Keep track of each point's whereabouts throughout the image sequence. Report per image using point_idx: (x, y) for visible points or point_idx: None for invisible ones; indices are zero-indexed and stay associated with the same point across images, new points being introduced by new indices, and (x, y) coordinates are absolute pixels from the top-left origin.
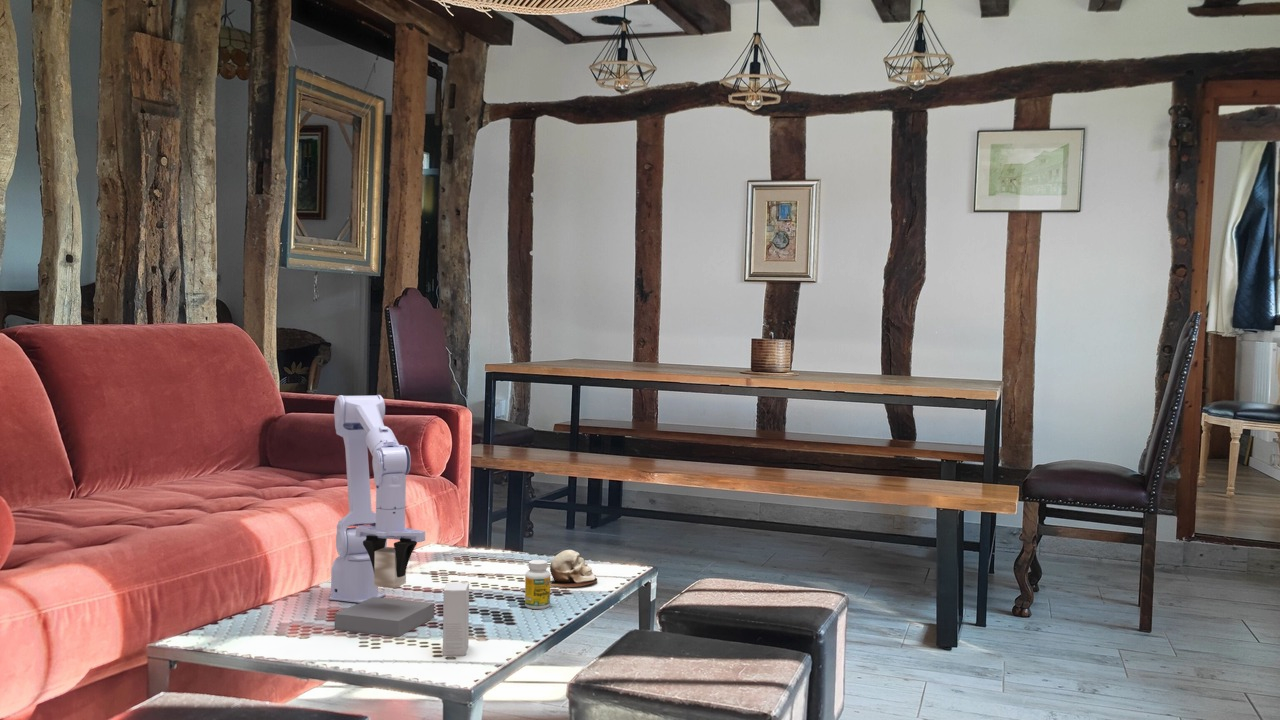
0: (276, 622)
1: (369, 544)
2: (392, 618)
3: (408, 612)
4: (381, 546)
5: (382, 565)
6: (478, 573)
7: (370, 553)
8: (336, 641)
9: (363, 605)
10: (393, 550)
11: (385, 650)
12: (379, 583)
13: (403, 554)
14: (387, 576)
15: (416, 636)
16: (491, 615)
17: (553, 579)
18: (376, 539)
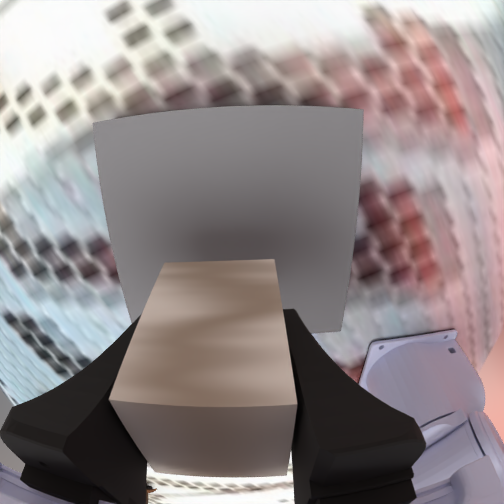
0: (499, 134)
1: (350, 436)
2: (128, 138)
3: (128, 225)
4: (297, 466)
5: (222, 330)
6: (262, 490)
7: (334, 384)
8: (262, 3)
9: (324, 240)
10: (180, 443)
11: (84, 9)
12: (244, 268)
13: (58, 389)
14: (194, 292)
15: (77, 148)
16: (67, 355)
17: (151, 486)
18: (314, 498)
